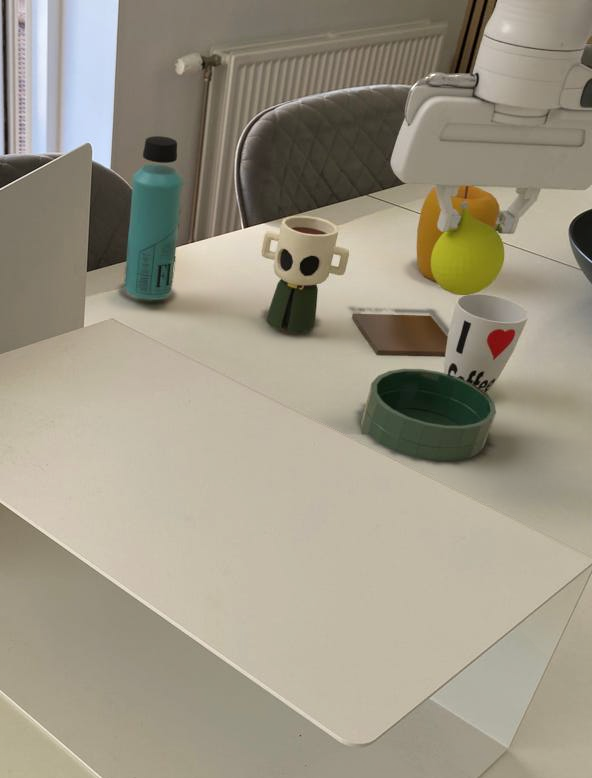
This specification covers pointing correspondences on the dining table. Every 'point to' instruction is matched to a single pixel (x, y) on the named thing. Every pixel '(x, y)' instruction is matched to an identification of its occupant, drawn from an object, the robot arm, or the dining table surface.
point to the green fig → (467, 256)
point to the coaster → (402, 334)
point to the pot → (428, 414)
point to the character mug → (301, 269)
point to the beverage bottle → (154, 222)
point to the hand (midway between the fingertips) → (475, 231)
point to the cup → (482, 338)
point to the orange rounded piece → (479, 207)
